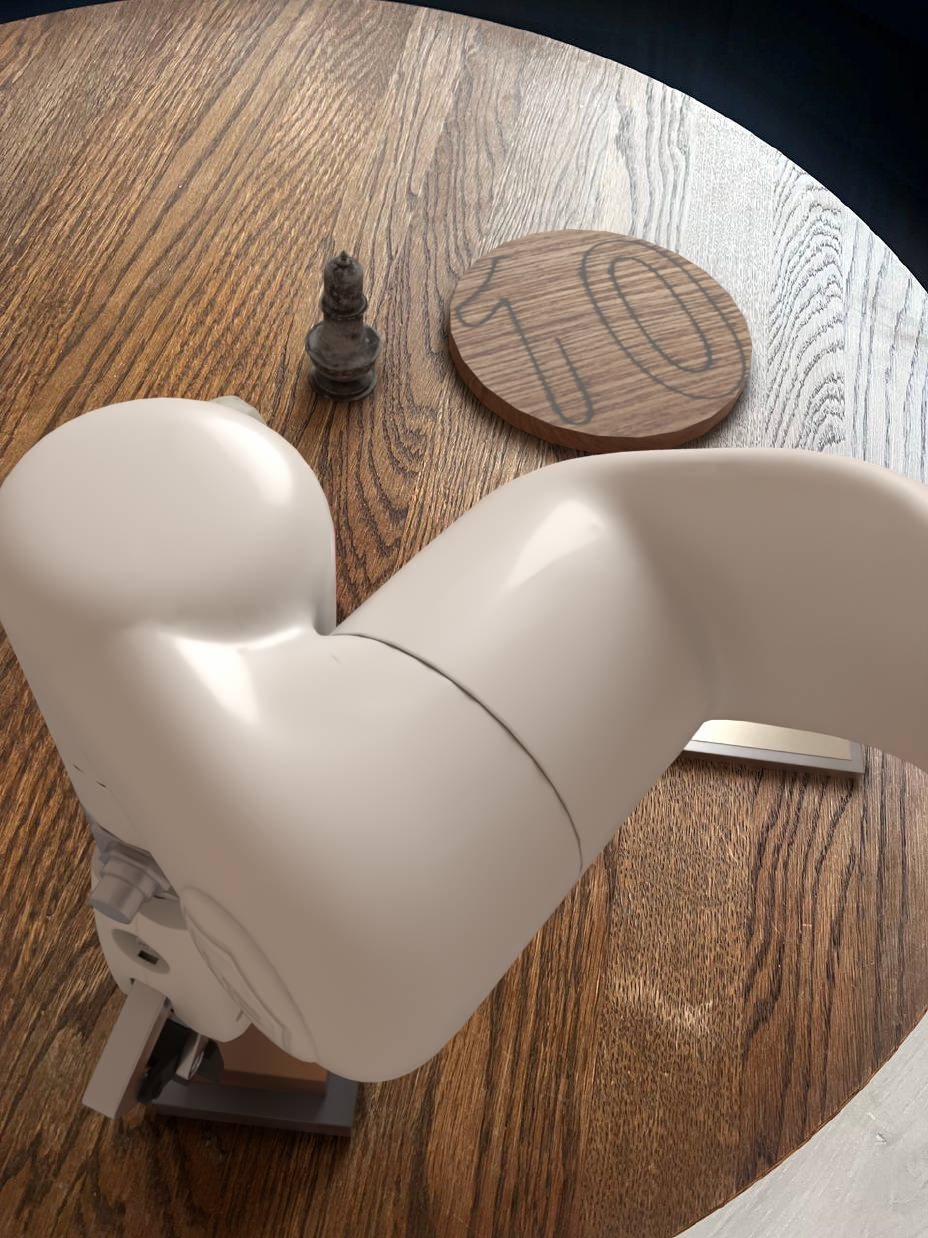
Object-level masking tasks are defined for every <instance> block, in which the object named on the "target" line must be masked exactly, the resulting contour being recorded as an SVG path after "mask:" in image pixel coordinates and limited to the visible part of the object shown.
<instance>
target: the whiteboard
mask: <svg viewBox="0 0 928 1238" xmlns="http://www.w3.org/2000/svg"><path fill="white" fill-rule="evenodd" d="M677 758H684V759H692V760H699V761H708V762H715V763H722V764H723V763H724V764H731V765H739V766H746V767H753V768H754V767H755V768H761V769H762V768H763V769H769V770H770V769H771V770H778V771H785V772H792V773H793V772H794V773H800V774H801V773H802V774H810V775H816V776H817V775H818V776H824V777H833V778H838V779H848V780H855V781H859V780H860V779H861V778H862V777H863V776H864V774H865V767H864V766H865V765H864V758H863V749H862V744H859V743H856V742H852V741H849V740H846V739H842V738H838V737H834V736H829V735H824V734H819V733H815V732H809V731H802V730H796V729H790V728H784V727H778V726H771V725H765V724H759V723H753V722H745V721H733V720H710V721H707V722H704V723H703V725H702V726H701V727H700V729H699V730H698V731H697V733H696V734H695V735H694V736H693V738H692V739H691V740H690V741H689V743H688V744H687V745H686V747H685V748H684V749H683V750H682V752H681V753H680V754H679V755H678V757H677Z"/></svg>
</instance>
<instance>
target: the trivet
mask: <svg viewBox="0 0 928 1238" xmlns="http://www.w3.org/2000/svg"><path fill="white" fill-rule="evenodd" d="M448 312H449V313H448V321H447V322H448V323H447V326H448V327H447V329H448V351H449V353H450V355H451V358H452V360H453V362H454V365H455V368H456V370H457V372H458V374H459V377H460V379H461V380H462V381H463V383H464V384H465V385H466V386H467V387H468V388H469V390H470V391H471V392H472V393H473V394H474V396H475V397H476V398H477V399H478V401H479V402H480V403H481V404H482V405H483V406H485V407H486V408H487V409H489V410H490V411H491V412H493V413H494V414H496V415H497V416H498V417H500V418H501V419H503V420H504V421H505V422H507V423H508V424H509V425H511V426H512V427H514V428H516V429H518V430H520V431H523V432H524V433H527V434H529V435H531V436H534V437H536V438H538V439H541V440H542V441H544V442H547V443H550V444H553V445H557V446H559V447H560V446H561V447H564V448H565V447H566V448H569V449H575V450H577V451H578V450H579V451H582V452H586V453H589V454H590V453H591V454H610V453H619V452H632V451H648V450H671V449H674V448H676V447H679V446H680V445H683V444H685V443H688V442H690V441H692V440H695V439H698V438H700V437H702V436H705V434H707V433H708V432H710V430H712V429H713V428H714V427H715V426H717V425H718V424H719V423H720V422H721V421H723V420H724V419H725V418H726V417H728V415H729V414H730V413H731V411H732V409H733V408H734V406H735V404H736V402H737V401H738V399H739V398H740V395H741V394H742V392H743V390H744V387H745V385H746V382H747V380H748V377H749V374H750V370H751V362H752V355H753V354H752V353H753V342H752V338H751V335H750V332H749V331H750V330H749V326H748V323H747V319H746V317H745V316H744V314H743V313H742V310H741V309H740V307H739V306H738V305H737V303H736V302H735V300H734V298H733V297H732V295H731V294H730V293H729V292H728V290H726V289H725V288H724V287H723V286H722V285H721V284H720V283H719V282H718V281H717V280H716V279H715V278H713V276H711V274H710V273H708V271H706V270H705V269H703V268H701V267H700V266H698V265H697V264H695V263H693V262H691V260H689V259H687V258H685V257H683V256H682V255H680V254H679V253H677V252H676V251H673V250H670V249H668V248H665V247H663V246H660V245H658V244H655V243H654V242H653V243H652V242H651V241H648V240H645V239H643V238H639V237H634V236H630V235H625V234H620V233H617V232H612V231H607V230H592V229H577V228H576V229H575V228H567V229H566V228H565V229H558V230H557V229H556V230H548V231H541V232H533V233H530V234H527V235H524V236H521V237H518V238H515V239H511V240H509V241H506V242H503V243H500V244H499V245H497V247H494V248H493V249H492V250H489V251H488V252H486V253H485V254H483V255H481V256H480V257H478V258H477V259H476V260H475V261H474V262H473V263H472V265H470V266H469V268H468V269H467V271H466V272H464V274H463V275H462V276H461V277H460V278H459V279H458V282H457V285H456V287H455V290H454V293H453V296H452V298H451V301H450V304H449V311H448Z"/></svg>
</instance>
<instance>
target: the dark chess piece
mask: <svg viewBox="0 0 928 1238" xmlns="http://www.w3.org/2000/svg"><path fill="white" fill-rule="evenodd" d="M363 268H364V267H363V266H362V264H361V263H360V261H359V260H358V259H356V258H355V257H353V256H349V253H348V252H347V251H346V250H342V251H340V253H339V254H338V255H337V256H335V257H333V258H331V259H330V260H328V261H327V262H326V264H325V266H324V269H323V294H321V296H320V297H319V300H318V307H319V310H320V311H321V313H323V314H322V315H323V317H322V318H323V319H322V320H321V321H319V322H317V323H316V324H314V325H312V326H311V328H310V329H309V330H308V331H307V333H306V335H305V337H304V349H305V351H306V354H307V356H308V357H309V359H310V361H311V363H312V366H311V369H310V371H309V383H310V385H311V388H312V389H313V390H314V391H315V392H316V393H317V394H318V395H320V396H321V397H322V398H325V399H328V400H329V401H335V402H339V403H341V402H342V403H343V402H344V403H348V402H356V401H358V400H361V399H364V398H365V397H367V396H368V395H370V394H371V393H372V392H373V390H374V389H375V388H376V385H377V382H378V379H377V378H378V374H377V373H376V369H375V368H374V366H375V364H376V361H377V359H378V358H379V357H380V355H381V352H382V349H383V341H382V338H381V335H380V334H379V332H378V331H377V330H376V329H375V327H373V326H371V325H369V324H368V323H367V322H365V321H364V314H365V313H366V312H367V311H368V308H369V301H368V298H367V297H366V295H365V294H364V269H363Z"/></svg>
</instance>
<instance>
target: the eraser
mask: <svg viewBox="0 0 928 1238" xmlns="http://www.w3.org/2000/svg"><path fill="white" fill-rule="evenodd" d="M170 1019H171V1020H173V1021H175V1022H177V1023H179V1024H181V1025H183V1026H185V1027H187V1028H189V1026H187V1025H186V1024H185V1023H184V1022H183V1021H182V1020H180V1019H179V1018H178V1017H177V1016H176V1015H175V1013H174V1012H172V1014H171V1018H170ZM210 1039H212V1038H210ZM212 1040H213V1041H215V1042H216V1043H217V1044H218V1047H219V1050H220V1052H221V1055H222V1058H223V1061H224V1064H225V1065H224V1070H225V1072H224V1074H223V1076H222V1077H221V1079H220V1081H219V1083H218V1084H217V1083H214V1082H212V1081H209V1080H207V1079H205V1078H203V1077H201V1076H199V1075H197V1074H195V1075H194V1077H193V1078H192V1080H191V1082H190V1084H189V1086H183V1085H181V1084H179V1083H177V1082H174V1081H172V1080H170V1081H169V1082H168V1083H167V1084H166V1086H165V1087H164V1088H163V1091H162V1093H161V1094H160V1096H159V1097H158V1099H156V1100H155V1099H153V1100H152V1101H151V1102H150V1104H151V1105H152V1107H153V1109H154V1110H155V1112H156V1113H157V1114H158V1115H165V1116H172V1117H180V1118H181V1117H182V1118H188V1119H189V1118H190V1119H197V1120H205V1121H214V1122H222V1123H231V1124H238V1125H239V1124H240V1125H245V1126H247V1125H248V1126H254V1127H255V1126H256V1127H264V1128H271V1129H280V1130H289V1131H297V1132H304V1133H314V1134H322V1135H330V1136H339V1137H345V1138H346V1137H347V1138H352V1137H353V1132H354V1125H355V1119H356V1111H357V1105H358V1096H359V1090H360V1083H361V1082H359V1081H354V1080H350V1079H347V1078H344V1077H341V1076H339V1075H336V1074H334V1073H332V1072H330V1071H329V1070H327V1069H325V1068H323V1067H322V1066H320V1065H318V1064H317V1063H315V1062H312V1063H310V1062H305V1061H301V1060H299V1059H297V1058H295V1057H293V1056H291V1055H290V1054H288V1053H287V1052H285V1051H284V1050H283V1049H281V1048H280V1047H279V1046H277V1045H276V1044H275V1043H273V1042H272V1041H271V1040H270V1039H269V1038H268V1037H266V1036H265V1035H264V1034H263V1033H262V1032H261V1031H260V1030H259V1029H258V1028H257V1027H256V1026H255V1025H254V1024H253V1023H252V1022H251V1024H250V1025H249V1027H248V1028H247V1029H246V1030H245V1032H244V1033H243V1034H241V1035H240V1036H238V1037H237V1038H235V1039H233V1040H231V1041H228V1042H221V1041H218V1040H215V1039H212Z"/></svg>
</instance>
